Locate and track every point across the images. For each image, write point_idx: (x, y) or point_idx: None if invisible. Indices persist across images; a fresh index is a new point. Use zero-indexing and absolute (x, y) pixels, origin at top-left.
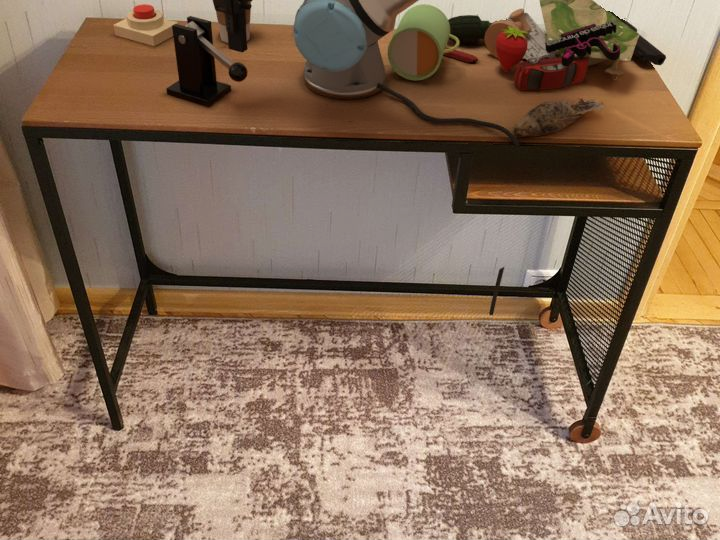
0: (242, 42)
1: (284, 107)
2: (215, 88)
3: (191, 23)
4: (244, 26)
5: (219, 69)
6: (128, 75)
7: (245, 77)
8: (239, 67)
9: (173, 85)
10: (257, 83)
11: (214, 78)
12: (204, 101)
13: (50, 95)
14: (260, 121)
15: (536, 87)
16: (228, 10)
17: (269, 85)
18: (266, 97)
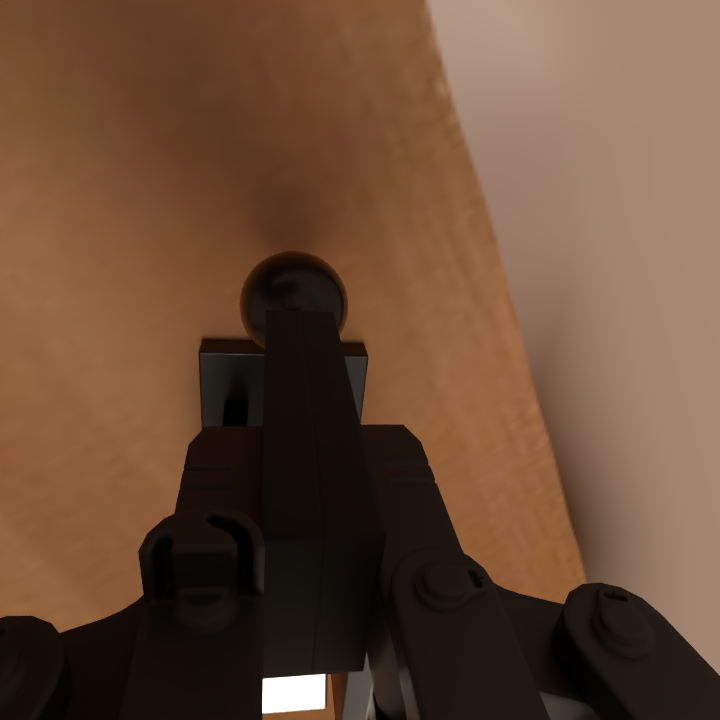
0: (329, 346)
1: (191, 31)
2: (260, 387)
3: (274, 702)
4: (289, 415)
5: (70, 469)
6: None
7: (297, 251)
8: (319, 298)
9: None
10: (63, 282)
11: (237, 418)
12: (366, 368)
13: None
14: (376, 83)
15: None
16: (646, 631)
17: (40, 223)
18: (155, 175)
